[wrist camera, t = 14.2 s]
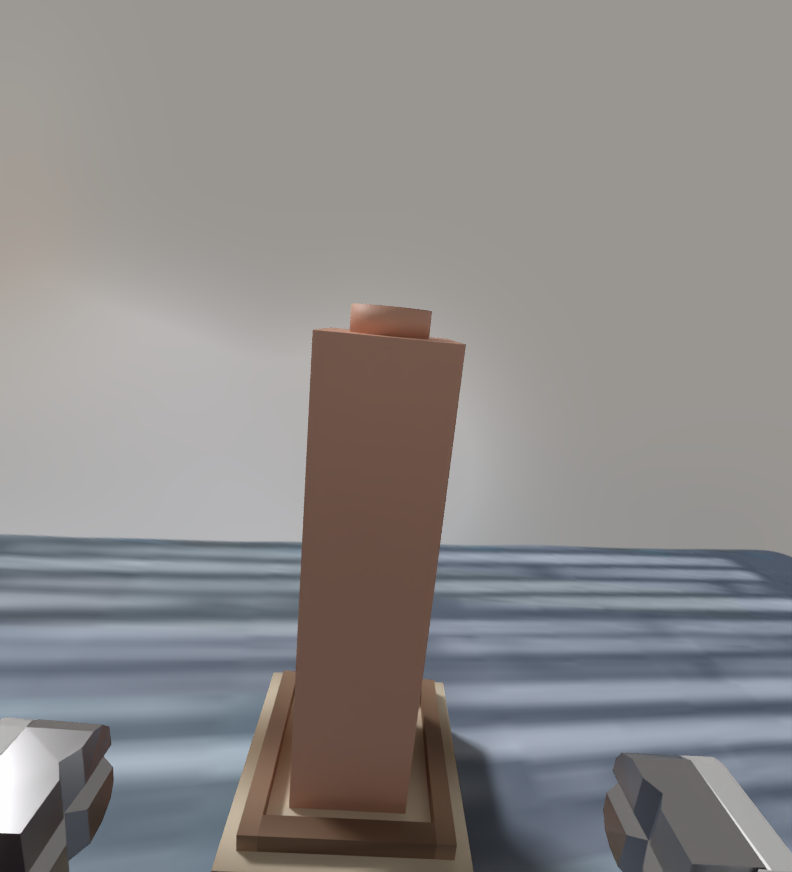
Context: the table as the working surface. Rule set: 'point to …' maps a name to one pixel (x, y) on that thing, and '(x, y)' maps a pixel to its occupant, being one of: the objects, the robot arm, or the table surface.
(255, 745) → the base
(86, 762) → the robot arm
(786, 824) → the table surface
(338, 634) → the pillar
